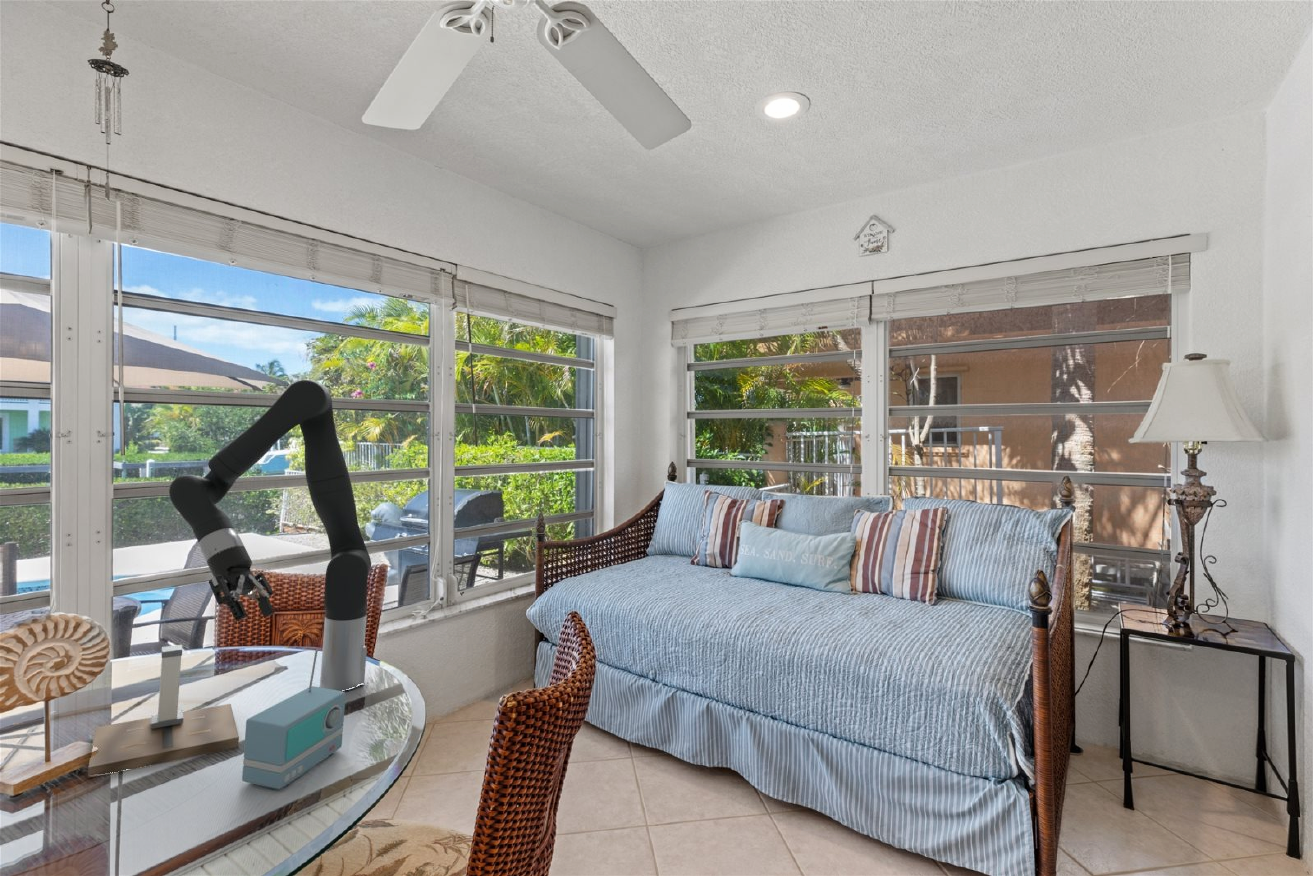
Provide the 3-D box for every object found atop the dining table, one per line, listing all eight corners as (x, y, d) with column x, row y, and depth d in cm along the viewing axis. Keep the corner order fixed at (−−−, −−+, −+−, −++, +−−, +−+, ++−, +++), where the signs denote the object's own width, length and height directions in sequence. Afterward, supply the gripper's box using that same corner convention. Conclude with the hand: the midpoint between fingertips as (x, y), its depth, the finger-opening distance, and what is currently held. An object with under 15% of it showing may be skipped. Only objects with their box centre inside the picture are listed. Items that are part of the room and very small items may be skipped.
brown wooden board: (230, 713, 137) (230, 703, 137) (238, 747, 124) (239, 736, 124) (94, 737, 123) (95, 727, 123) (87, 778, 110) (88, 767, 110)
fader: (182, 715, 130) (187, 643, 130) (183, 723, 127) (188, 649, 127) (151, 720, 127) (156, 647, 127) (151, 728, 124) (156, 653, 124)
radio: (284, 796, 110) (292, 681, 109) (240, 786, 111) (248, 673, 111) (346, 752, 125) (354, 651, 125) (307, 744, 127) (314, 645, 127)
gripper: (215, 544, 134) (247, 610, 131) (262, 544, 148) (292, 604, 145) (185, 563, 134) (216, 630, 131) (234, 562, 148) (264, 623, 145)
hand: (256, 617), depth 138 cm, fingers open, 8 cm apart
